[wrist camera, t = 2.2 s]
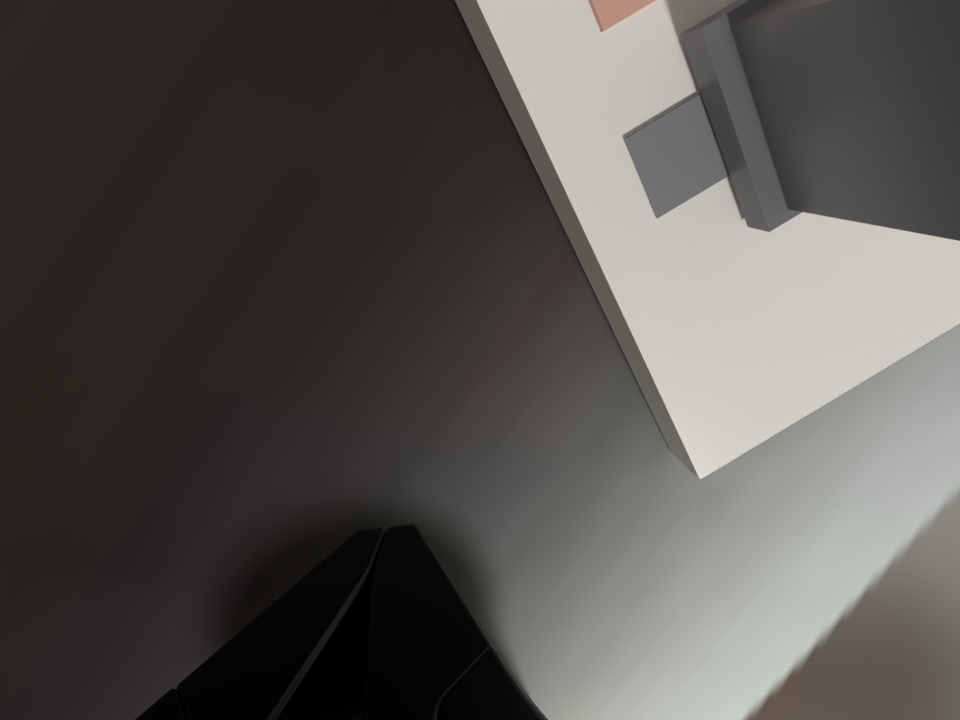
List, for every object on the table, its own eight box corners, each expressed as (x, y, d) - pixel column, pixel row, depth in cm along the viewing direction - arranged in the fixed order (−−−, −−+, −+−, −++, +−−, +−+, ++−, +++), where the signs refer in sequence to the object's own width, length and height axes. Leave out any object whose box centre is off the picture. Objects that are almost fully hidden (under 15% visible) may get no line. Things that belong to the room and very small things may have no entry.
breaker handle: (747, 226, 19) (1049, 300, 11) (680, 34, 16) (999, -51, 9) (878, 148, 19) (1273, 165, 11) (828, -55, 16) (1280, -218, 9)
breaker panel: (671, 451, 23) (703, 482, 21) (377, -160, 15) (385, -203, 13) (999, 254, 23) (1062, 266, 21) (874, -453, 16) (955, -539, 14)
